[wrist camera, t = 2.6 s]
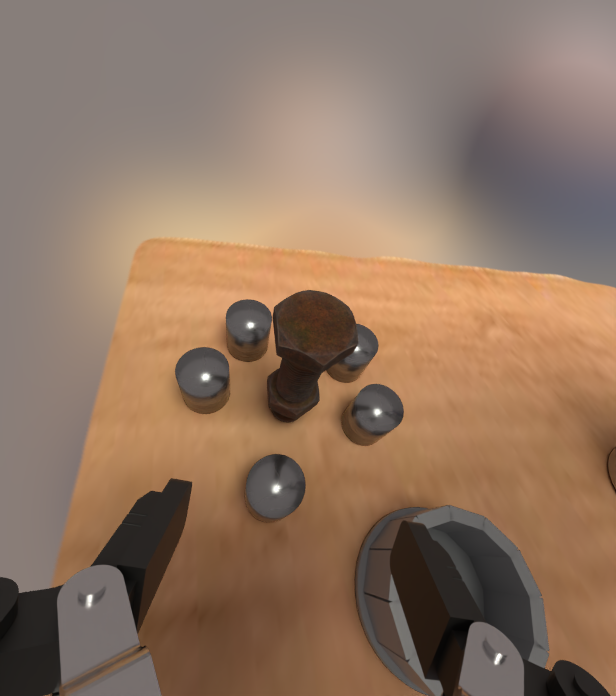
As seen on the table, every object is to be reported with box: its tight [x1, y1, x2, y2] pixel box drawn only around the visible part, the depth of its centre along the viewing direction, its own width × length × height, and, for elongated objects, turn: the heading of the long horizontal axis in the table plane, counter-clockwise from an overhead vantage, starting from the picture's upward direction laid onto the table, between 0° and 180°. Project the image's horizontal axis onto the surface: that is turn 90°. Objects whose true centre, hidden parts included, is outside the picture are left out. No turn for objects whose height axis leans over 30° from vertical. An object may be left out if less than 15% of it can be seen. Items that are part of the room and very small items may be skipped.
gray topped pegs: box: [175, 300, 404, 522], centre depth 31 cm, size 19×19×5 cm
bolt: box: [267, 290, 358, 422], centre depth 26 cm, size 6×5×15 cm
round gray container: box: [355, 505, 549, 696], centre depth 24 cm, size 12×12×6 cm
